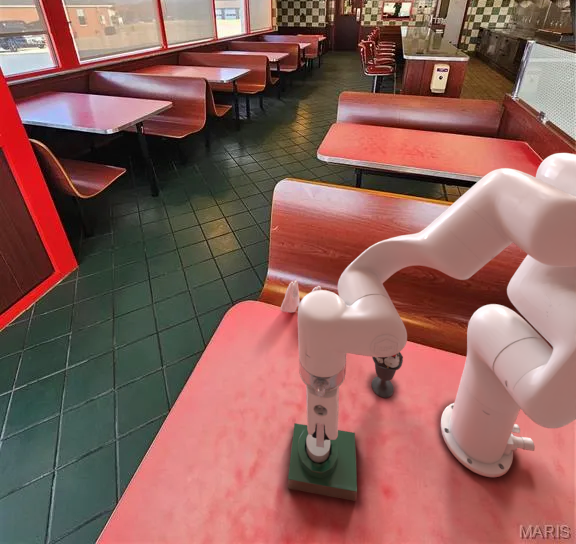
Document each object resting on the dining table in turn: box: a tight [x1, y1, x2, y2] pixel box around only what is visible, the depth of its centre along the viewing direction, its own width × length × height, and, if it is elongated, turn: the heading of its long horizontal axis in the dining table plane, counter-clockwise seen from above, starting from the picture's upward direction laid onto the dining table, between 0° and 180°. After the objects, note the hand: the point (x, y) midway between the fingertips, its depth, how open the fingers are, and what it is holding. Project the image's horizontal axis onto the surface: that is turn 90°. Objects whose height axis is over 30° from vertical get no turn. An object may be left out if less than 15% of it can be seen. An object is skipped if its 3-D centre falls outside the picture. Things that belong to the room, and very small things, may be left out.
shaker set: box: [279, 279, 322, 313], centre depth 94 cm, size 12×4×11 cm, turn 84°
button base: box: [287, 422, 358, 502], centre depth 61 cm, size 12×9×5 cm
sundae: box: [371, 351, 404, 399], centre depth 73 cm, size 7×7×15 cm
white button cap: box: [306, 434, 330, 463], centre depth 60 cm, size 4×4×2 cm
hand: (321, 433), depth 59 cm, fingers closed
